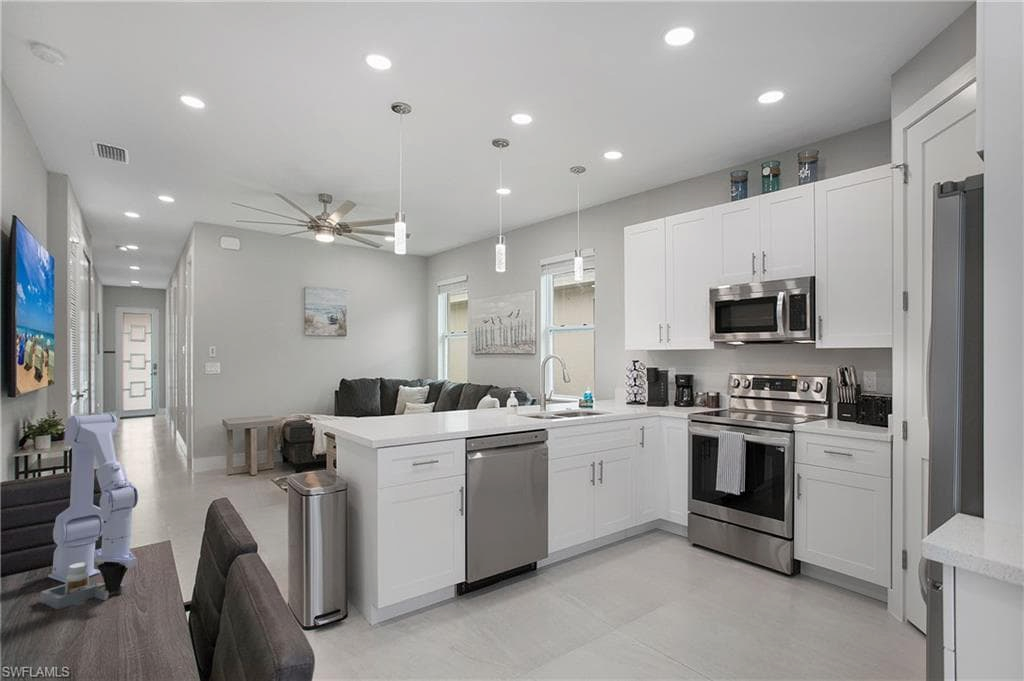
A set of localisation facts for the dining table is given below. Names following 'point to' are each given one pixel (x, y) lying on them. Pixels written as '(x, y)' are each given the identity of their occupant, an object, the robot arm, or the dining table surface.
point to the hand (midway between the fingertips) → (112, 591)
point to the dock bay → (74, 595)
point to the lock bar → (104, 588)
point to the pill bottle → (76, 578)
